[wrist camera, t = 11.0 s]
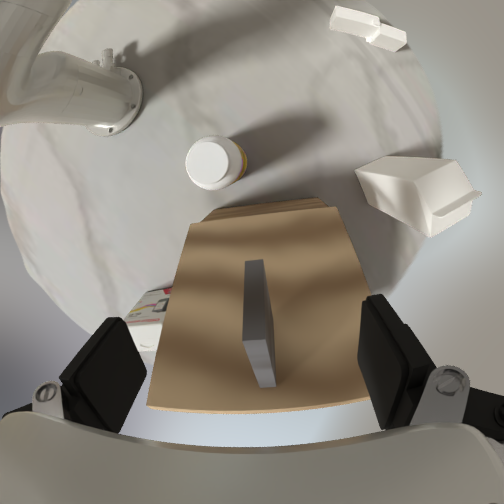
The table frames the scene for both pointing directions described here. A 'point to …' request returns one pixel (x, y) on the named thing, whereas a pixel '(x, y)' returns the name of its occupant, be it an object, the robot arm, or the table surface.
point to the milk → (418, 191)
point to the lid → (262, 317)
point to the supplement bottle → (215, 162)
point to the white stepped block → (367, 28)
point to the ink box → (148, 319)
